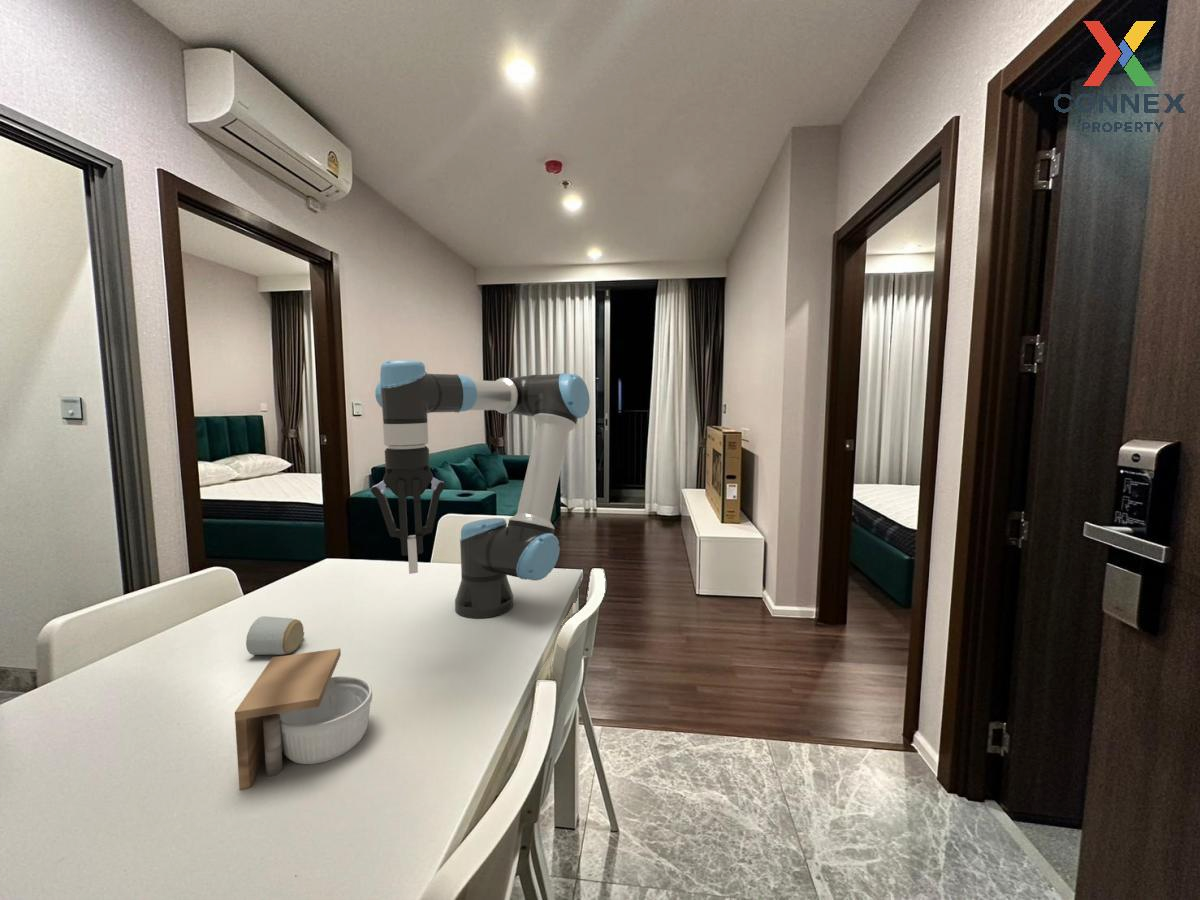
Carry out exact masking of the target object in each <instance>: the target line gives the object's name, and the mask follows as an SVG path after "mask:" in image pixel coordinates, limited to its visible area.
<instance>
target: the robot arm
mask: <svg viewBox="0 0 1200 900" xmlns="http://www.w3.org/2000/svg"><path fill="white" fill-rule="evenodd" d="M379 375H380V376H379V377H380V380H379V381H378V383H377V385H376V387H375V391H374V392H375V393H374V394H375V399H376V402H377V404H378V405H379V407H381V408H382V409H381V410H382V421H383V422H382V428H383V431H382V433H383V444H384V446H386V447H387V448H385V450H384V461H385V464H384V465H385V473H384V475H383V477H382V478H383V479H382V481H380V482H379V483H377V484H374V485H372V487H371V489H370V492H371V494H372V495H373V496H374V497H375V499H376V500H377V501H378V504H379V508H380V511H381V513H382V517H383V519H384V523H385V525H386V528H387V532H388V535H389V536H390V537H391V538H397V539H399V540H400V551H401V552H400V553H401V555H402V556H403V557H405V556H407V557H408V558H407V559H408V572H409V575H410V574H418V573H419V569H418V568H419V565H418V555H419V554H423V553H424V542H423V541H424V536H426V535H427V534H431V533H432V532H433V529H434V525H435V520H436V515H437V512H438V511H437V510H438V506H439V500H440V496H441V494H442V493H443V491H444V489H445V487H446V483H445V481H444V480H439V479H438V478H435V477H434V474H433V472H432V471H431V467H430V466H431V465H430V448H428V446H426V445H427V444H428V443H429V429H428V428H429V424H428V414H430V413H456V414H457V413H458V414H459V413H461V412H466V411H497V412H498V413H499V414H504V415H506V414H513V415H519V416H526V417H532V418H533V420H534V422H535V423H536V429H535V433H534V437H533V441H532V447H531V450H530V455H529V459H528V462H527V468H526V472H525V477H524V480H523V486H522V489H521V494H520V497H519V502H518V506H517V511H516V514H514V515H513V516H511V517H510V518H509V520H508V523H507V520H506V519H505V518H502V517H499V518H498V517H496V518H495V517H494V518H485V519H484V518H483V519H480V520H479V519H478V520H473V521H469V522H467V523H465V524H464V525H462V527H461V529H460V539H459V543H460V545H459V546H460V570H461V574H460V575H461V579H460V580H461V581H460V583H459V587H458V588H457V589H458V590H457V592H456V596H455V600H454V610H455V611H454V612H456V613H457V614H458V615H460V616H462V617H465V618H471V619H485V618H492V617H496V616H500V615H503V614H505V613H507V612H509V611H510V610H512V609H513V607H514V602H515V601H514V597H515V596H514V593H513V591H512V588H511V585H510V582H509V580H508V579H509V578H508V576H510V577H514V578H519V579H521V580H530V581H540V580H542V579H544V578H547V576H548V575H549V574H550V573H551V572H552V571H553V570H554V568H555V566H556V564H557V562H558V559H559V556H560V551H561V549H560V548H561V547H560V545H559V544H560V542H559V539H558V537H557V536H556V535H554V533H555V527H554V525H553V524H552V522H551V519H552V518H551V517H552V513H553V509H554V505H555V504H554V503H555V499H556V493H557V490H558V489H557V488H558V484H559V481H560V477H561V476H560V475H561V472H562V471H561V470H562V465H563V461H564V457H565V453H566V447H567V441H568V437H569V434H570V432H572V431H573V430H574V429H575V428H576V427H577V424H578V423H577V422H578V419H582V418H584V417H585V416H586V415H587V414H588V412H589V409H590V401H591V400H590V394H589V390H588V387H587V384H586V383H585V381H584V379H583V378H582V377H581V376H579V375H578V374H576V373H565V372H563V373H553V374H552V373H551V374H530V375H529V374H528V375H522V376H515V377H499V378H498V379H496V380H480V379H472V378H470V377H469V376H467V375H463V374H462V375H460V374H458V373H455V374H449V373H448V374H445V373H444V374H443V373H428V372H427V371H426V366H425V364H424V363H423V362H422V361H419V360H418V361H417V360H406V359H405V360H403V359H402V360H401V359H400V360H399V359H398V360H396V359H395V360H386V361H383V362H382V364H381V365H380V373H379ZM430 484H431V490H432V494H431V499H430V504H429V509H428V514H427V517H426V521H425V525H424V526H423V520H422V516H423V515H422V501H421V499H422V497H421V495H423V494H424V493H425V491H426V490H427V488H428V486H429V485H430ZM387 488H388V489H390V490H391V492H392V493H393V494H394V496H396V497H397V502H398V519H399V528H397V525H396V523H395V519H394V516H393V514H392V510H391V508H390V507H391V506H390V504H389V501H388V498H387V496H386V493H387ZM407 497H413V498H412V499H413V509H414V510H413V513H414V531H415V534H411V535H408V531H409V529H408V516H407V513H408V512H407Z"/></svg>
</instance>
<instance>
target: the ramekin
mask: <svg viewBox="0 0 1200 900" xmlns="http://www.w3.org/2000/svg"><path fill="white" fill-rule="evenodd" d="M372 690H373V687H372V685H371V684H370V683H369V682H368V681H367V680H366V679H364V678H361V677H358V676H351V675H349V676H348V675H344V676H343V675H341V676H334V677H333V676H332V677H331V679H330V682H329V684H328V686H327V689H326V691H325V694H324V696H323V698H322V701H321V703H320V706H319V707H314V708H308V709H302V710H296V711H290V712H284V713H278V714H279V715H280V725H281V745H282V753H283V754H284V755H285V757H286V758H287V759H289V760H290V761H292V762H294V763H296V764H299V765H315V764H322V763H325V762H328V761H333V760H335V759H337V758H339V757H341V756H342V755H345V754H347V752H349V751H351V750H352V749H353V748H355V746H356V745H358V743H359V742H360V740H361V739H362V738H363V737H364V735H365V734H366V732H367V729H368V725H369V718H370V711H371V710H370V709H371V703H372V700H373V691H372Z"/></svg>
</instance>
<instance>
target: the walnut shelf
mask: <svg viewBox="0 0 1200 900" xmlns="http://www.w3.org/2000/svg"><path fill="white" fill-rule="evenodd" d="M341 655H342V654H341V648H333V649H325V650H317V651H310V652H302V653H295V654H285V655H280V656H279V655H278V656H273V657H272V658H271V659H270V660H269V662H268V663H267V665H266V666H265V668H264V669H263V670H262V672H261V673H260V675H259V676H258V677H257V679H256V680H255V682H254V683H253V685H251V688H250V689H249V691H248V692H247V693H246V695H245V697H244V698H243V700H242V701H241V702H240V704H239V705H238V707H236V710H235V711H234V723H235V724H234V725H235V737H236V740H235V741H236V754H237V757H236V759H237V771H238V772H237V773H238V787H239V788H238V789H239V790H246V789H249V788H251V786H252V785H253V782H254V781H255V779H256V776H257V775H258V773H259V770H260V769H261V767H262V764H263V762H264V763H265V775H266V777H274V776H277V775H278V774H280V773H281V772H282V771H283V769H284V765H283V750H282V745H281V725H280V715H279V714H278V713H284V712H290V711H296V710H302V709H308V708H314V707H319V706H320V703H321V701H322V698H323V696H324V694H325V691H326V689H327V686H328V684H329V682H330V679H331V678H332V677H333V675H334V672H335V669H336V668H337V665H338V663H339V660H340V658H341Z"/></svg>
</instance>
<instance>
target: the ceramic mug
mask: <svg viewBox="0 0 1200 900" xmlns="http://www.w3.org/2000/svg"><path fill="white" fill-rule="evenodd" d="M304 637H305V631H304V624H303V623H302V621H301V620H299V619H297V618H292V617H291V618H290V617H276V616H266V615H264V616H260V617H258V618H257V619H255V621H253V622H252V624H251V626H250V627H249V629H248V632H247V635H246V638H245V639H246V641H245V645H246V650H247V652H248V653H249V654H250V655H252V656H261V655H262V656H263V655H264V656H266V655H267V656H268V655H269V656H270V655H271V656H272V655H274V656H275V655H277V656H279V655H280V656H285V655H290V654H292V653H293V652H295V651H296V650H297V649H298V647H299V646H300V644H301V642H302V640H304Z"/></svg>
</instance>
